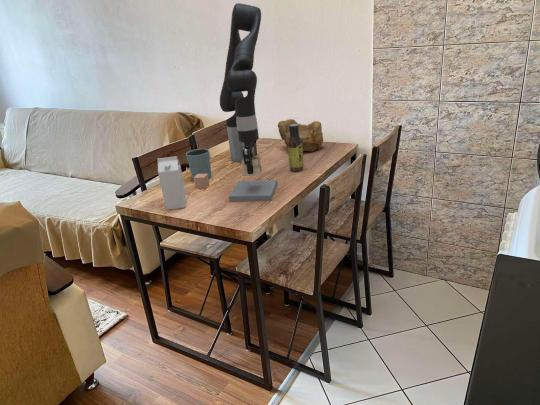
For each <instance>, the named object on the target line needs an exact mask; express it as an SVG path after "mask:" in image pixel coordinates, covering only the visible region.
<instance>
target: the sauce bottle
mask: <svg viewBox="0 0 540 405" xmlns="http://www.w3.org/2000/svg"><path fill="white" fill-rule="evenodd" d="M298 124H299V123H298ZM298 124H292V125H289V129H290V138H289V140H288V150H287V153H288V152H289V153H288V163H289V166H288V167H289V170H290V171H291V172H299V171H302V170H303V169H304V151H303V147H302V141H301V138H300V136H299V129H298V128H299V125H298Z"/></svg>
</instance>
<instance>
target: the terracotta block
mask: <svg viewBox="0 0 540 405" xmlns="http://www.w3.org/2000/svg"><path fill="white" fill-rule="evenodd" d="M209 180H210V179H208V174H197V175H196V176H195V177H194V180H193V182H194V188H195V189H196V190H200V189H201V190H204V189H205V190H206V189H207V188H208V187H209V186H210V181H209Z"/></svg>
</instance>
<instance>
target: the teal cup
mask: <svg viewBox="0 0 540 405" xmlns="http://www.w3.org/2000/svg"><path fill="white" fill-rule="evenodd" d="M210 156H211V155H210V150H209V149H208V148H196V149H192V150H188V151H187V152H186V153H185V157H186V159H187V163H188V165H189V166H188V167H189V171H190V173H191V178H192V180H193V181H194V177H195V176H196V175H197V174H208V179H209V180H210V179H211V178H212V169H211V162H210V160H211V157H210Z"/></svg>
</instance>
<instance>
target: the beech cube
mask: <svg viewBox="0 0 540 405" xmlns="http://www.w3.org/2000/svg"><path fill="white" fill-rule="evenodd" d="M247 161H249V159H247ZM252 161H253V172H254V173H253V174H248V173H247V165H245V164H244V158H243V159H242V161H241V169H242V176H243V177H252V176H253V177H254V176H255V177H256V176H257V177H258V176H260V174H261V172H262V162H261V155H258V154H257V155H256V156H254V158H253V160H252Z"/></svg>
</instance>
